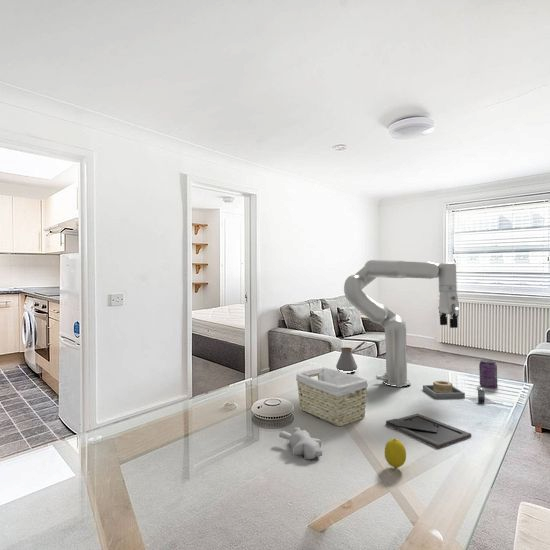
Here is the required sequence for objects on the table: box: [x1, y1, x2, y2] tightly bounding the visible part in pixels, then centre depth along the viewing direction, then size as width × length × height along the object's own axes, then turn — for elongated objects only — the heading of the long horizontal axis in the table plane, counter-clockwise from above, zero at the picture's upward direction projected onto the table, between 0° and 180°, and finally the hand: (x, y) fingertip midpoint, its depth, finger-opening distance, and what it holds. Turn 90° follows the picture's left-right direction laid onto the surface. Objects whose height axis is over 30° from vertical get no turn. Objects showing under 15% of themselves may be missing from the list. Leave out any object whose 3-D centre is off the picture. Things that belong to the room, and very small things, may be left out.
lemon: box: [384, 437, 407, 469], centre depth 100 cm, size 6×6×8 cm
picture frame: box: [385, 413, 472, 449], centre depth 124 cm, size 16×2×21 cm
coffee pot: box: [335, 341, 368, 371], centre depth 206 cm, size 21×12×15 cm, turn 125°
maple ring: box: [432, 380, 453, 393], centre depth 161 cm, size 7×7×4 cm
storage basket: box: [295, 367, 369, 427], centre depth 140 cm, size 24×16×15 cm
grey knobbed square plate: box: [467, 386, 498, 405], centre depth 151 cm, size 8×8×6 cm
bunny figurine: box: [278, 426, 323, 460], centre depth 111 cm, size 10×5×15 cm
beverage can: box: [478, 358, 498, 389], centre depth 171 cm, size 7×7×12 cm
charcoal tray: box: [422, 384, 466, 400], centre depth 161 cm, size 12×12×2 cm
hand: (448, 326), depth 171 cm, fingers open, 9 cm apart
